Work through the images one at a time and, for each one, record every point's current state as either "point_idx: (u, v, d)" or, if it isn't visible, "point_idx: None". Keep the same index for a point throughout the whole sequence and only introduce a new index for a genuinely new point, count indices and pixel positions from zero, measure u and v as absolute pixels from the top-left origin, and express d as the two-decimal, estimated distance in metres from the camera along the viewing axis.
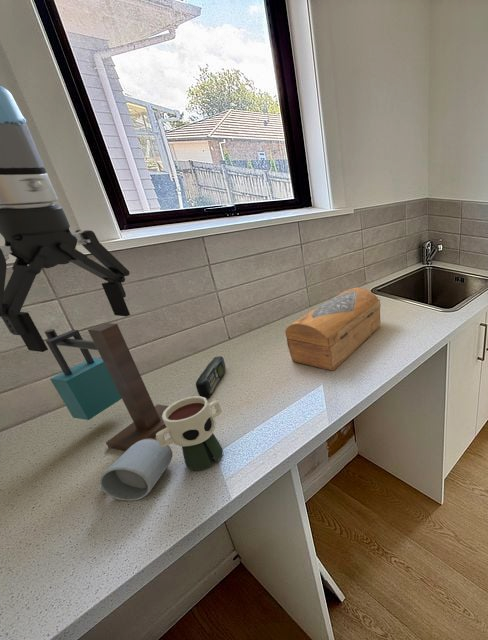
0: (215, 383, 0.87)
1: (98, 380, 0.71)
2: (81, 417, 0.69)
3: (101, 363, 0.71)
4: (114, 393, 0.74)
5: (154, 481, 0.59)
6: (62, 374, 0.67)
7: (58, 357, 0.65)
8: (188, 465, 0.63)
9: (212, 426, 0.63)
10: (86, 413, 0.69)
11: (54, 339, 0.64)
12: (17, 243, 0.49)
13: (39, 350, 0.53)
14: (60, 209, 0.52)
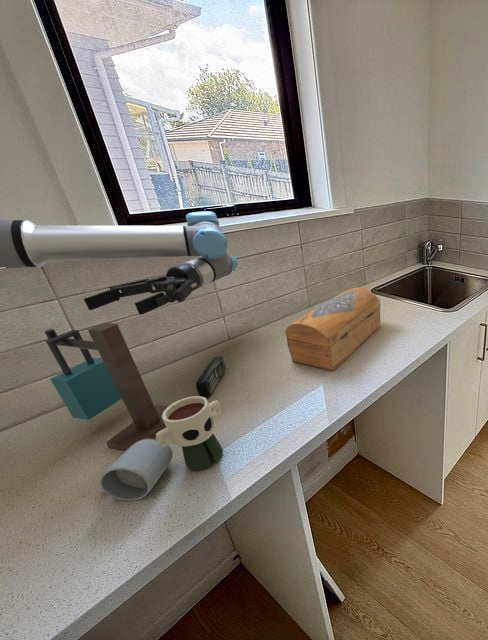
0: (215, 383, 0.87)
1: (98, 380, 0.71)
2: (81, 417, 0.69)
3: (101, 363, 0.71)
4: (114, 393, 0.74)
5: (154, 481, 0.59)
6: (62, 374, 0.67)
7: (58, 357, 0.65)
8: (188, 465, 0.63)
9: (212, 426, 0.63)
10: (86, 413, 0.69)
11: (54, 339, 0.64)
12: None
13: (142, 312, 0.73)
14: None
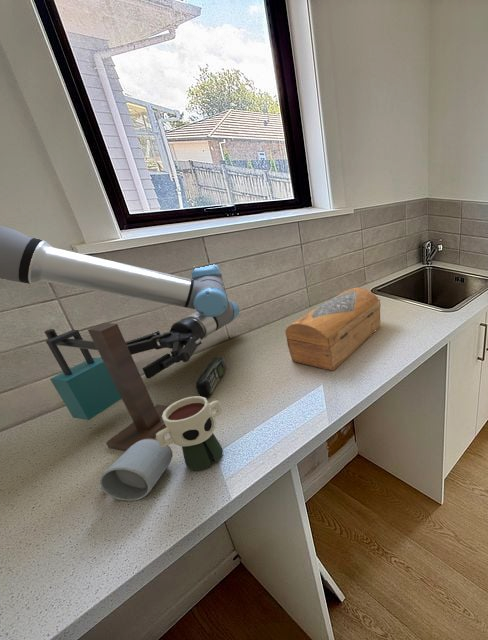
0: (215, 383, 0.87)
1: (98, 380, 0.71)
2: (81, 417, 0.69)
3: (101, 363, 0.71)
4: (114, 393, 0.74)
5: (154, 481, 0.59)
6: (62, 374, 0.67)
7: (58, 357, 0.65)
8: (188, 465, 0.63)
9: (212, 426, 0.63)
10: (86, 413, 0.69)
11: (54, 339, 0.64)
12: None
13: (149, 376, 0.76)
14: None
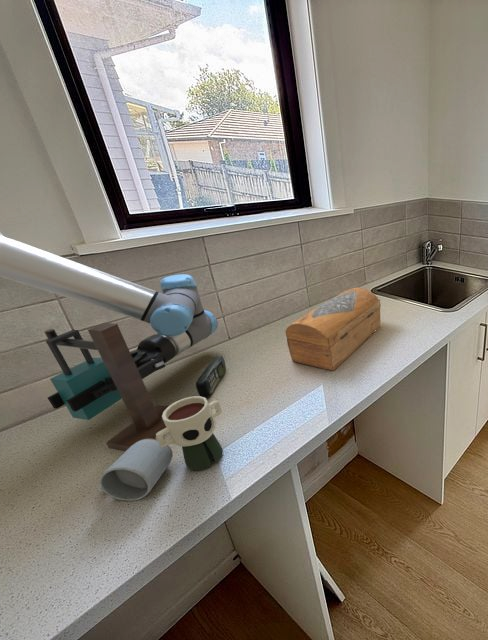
0: (215, 383, 0.87)
1: (98, 380, 0.71)
2: (81, 417, 0.69)
3: (102, 363, 0.71)
4: (114, 393, 0.74)
5: (154, 481, 0.59)
6: (62, 374, 0.67)
7: (58, 357, 0.65)
8: (188, 465, 0.63)
9: (212, 427, 0.63)
10: (86, 413, 0.69)
11: (54, 339, 0.64)
12: None
13: (76, 408, 0.66)
14: None
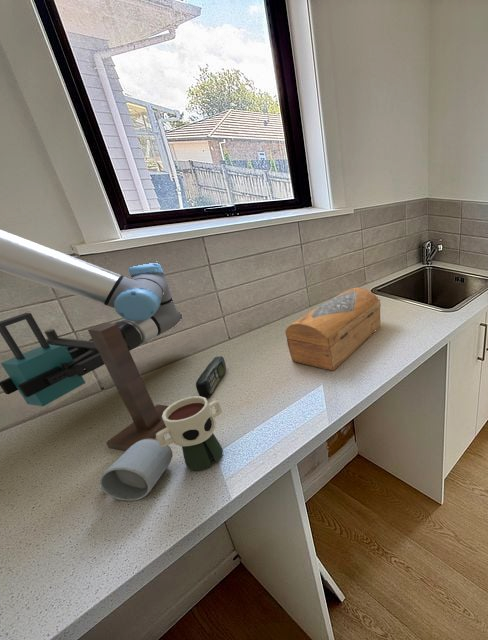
0: (215, 383, 0.87)
1: (53, 365, 0.69)
2: (35, 403, 0.67)
3: (57, 348, 0.69)
4: (72, 380, 0.72)
5: (154, 481, 0.59)
6: (14, 358, 0.65)
7: (8, 340, 0.63)
8: (188, 465, 0.63)
9: (212, 426, 0.63)
10: (40, 399, 0.67)
11: (4, 322, 0.62)
12: None
13: (28, 394, 0.64)
14: None
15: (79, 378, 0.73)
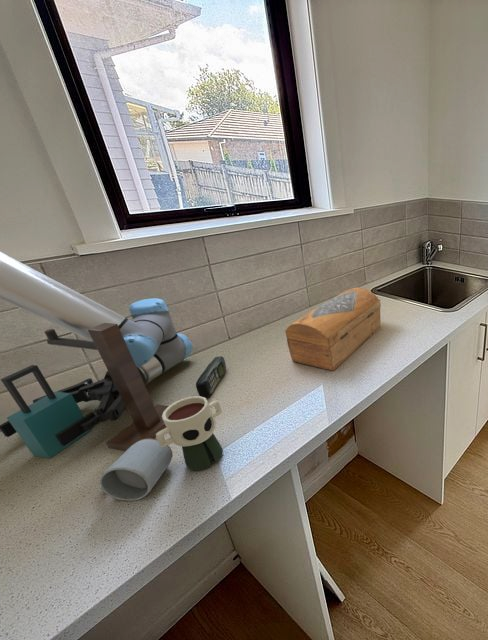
0: (215, 383, 0.87)
1: (60, 416, 0.68)
2: (42, 455, 0.66)
3: (64, 398, 0.68)
4: None
5: (154, 481, 0.59)
6: (20, 412, 0.64)
7: (14, 395, 0.62)
8: (188, 465, 0.63)
9: (212, 427, 0.63)
10: (46, 452, 0.66)
11: (10, 377, 0.61)
12: None
13: (64, 443, 0.65)
14: None
15: None
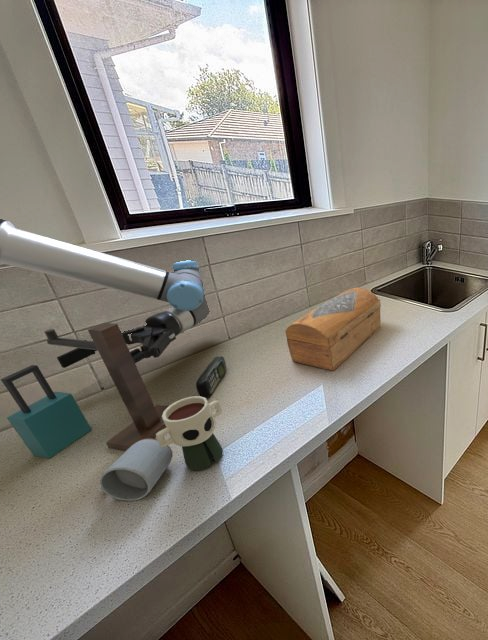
0: (215, 383, 0.87)
1: (60, 416, 0.68)
2: (42, 455, 0.66)
3: (64, 398, 0.68)
4: (78, 428, 0.71)
5: (154, 481, 0.59)
6: (20, 412, 0.64)
7: (14, 395, 0.62)
8: (188, 465, 0.63)
9: (212, 426, 0.63)
10: (46, 452, 0.66)
11: (10, 377, 0.61)
12: None
13: None
14: None
15: (85, 426, 0.72)
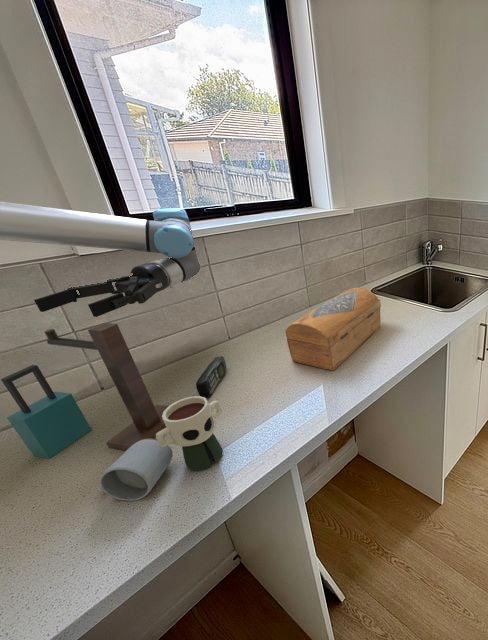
0: (215, 383, 0.87)
1: (60, 416, 0.68)
2: (42, 455, 0.66)
3: (64, 398, 0.68)
4: (78, 428, 0.71)
5: (154, 481, 0.59)
6: (20, 412, 0.64)
7: (14, 395, 0.62)
8: (188, 465, 0.63)
9: (212, 427, 0.63)
10: (46, 452, 0.66)
11: (10, 377, 0.61)
12: None
13: (96, 314, 0.68)
14: None
15: (85, 426, 0.72)
